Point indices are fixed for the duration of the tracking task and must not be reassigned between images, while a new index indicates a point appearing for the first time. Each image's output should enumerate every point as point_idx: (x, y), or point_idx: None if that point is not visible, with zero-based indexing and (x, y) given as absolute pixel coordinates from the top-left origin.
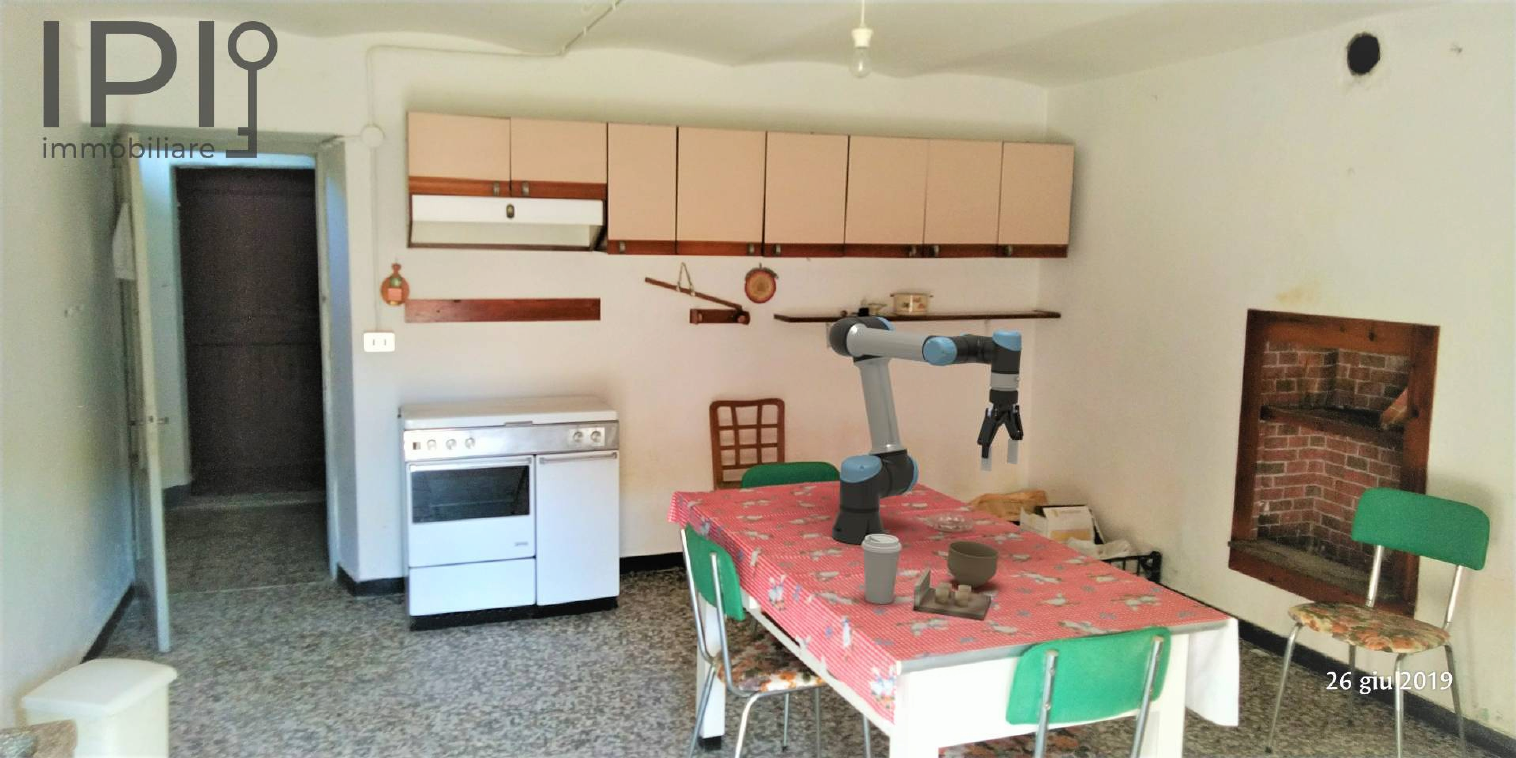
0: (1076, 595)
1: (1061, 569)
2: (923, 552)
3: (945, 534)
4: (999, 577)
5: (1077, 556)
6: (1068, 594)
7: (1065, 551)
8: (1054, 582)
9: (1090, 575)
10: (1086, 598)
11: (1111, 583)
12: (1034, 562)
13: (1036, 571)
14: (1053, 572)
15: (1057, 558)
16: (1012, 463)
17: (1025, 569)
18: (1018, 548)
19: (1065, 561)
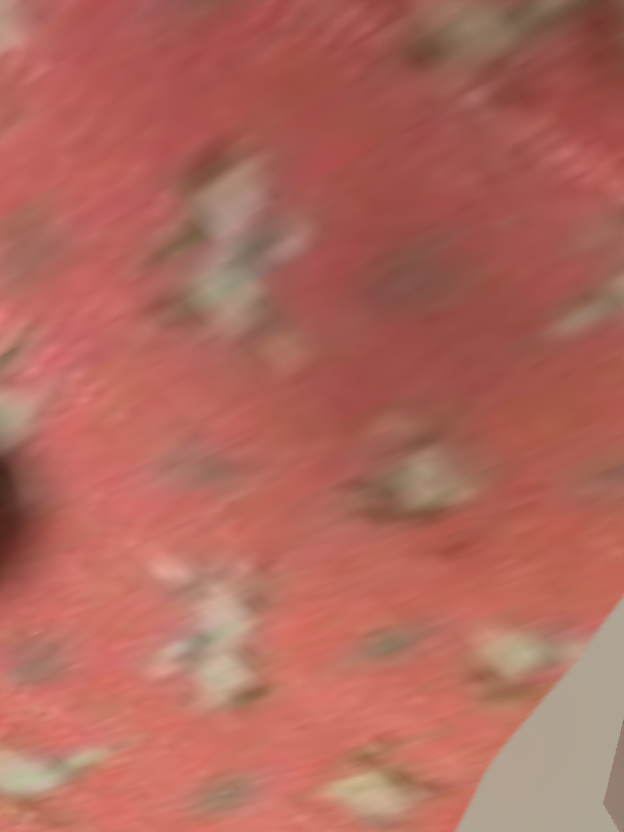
0: (125, 795)
1: (370, 658)
2: (173, 116)
3: (546, 34)
4: (103, 537)
5: (580, 638)
6: (114, 775)
7: (620, 581)
8: (202, 698)
9: (373, 752)
10: (121, 825)
11: (334, 826)
12: (387, 553)
13: (279, 604)
14: (313, 652)
15: (501, 595)
16: (616, 766)
17: (273, 566)
18: (539, 423)
19: (482, 631)
